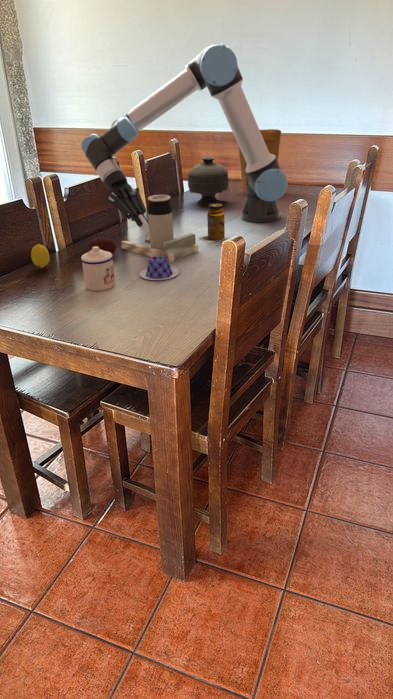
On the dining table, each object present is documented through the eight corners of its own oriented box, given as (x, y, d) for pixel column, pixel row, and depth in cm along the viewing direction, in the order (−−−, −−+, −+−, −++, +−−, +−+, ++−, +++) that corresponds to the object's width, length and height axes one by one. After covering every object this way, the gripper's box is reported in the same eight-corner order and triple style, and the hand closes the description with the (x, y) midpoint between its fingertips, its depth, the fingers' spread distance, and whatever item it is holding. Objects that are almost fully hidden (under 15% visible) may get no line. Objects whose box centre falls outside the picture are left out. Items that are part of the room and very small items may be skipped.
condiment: (229, 238, 190) (229, 205, 184) (210, 243, 186) (209, 209, 180) (217, 234, 195) (217, 201, 189) (198, 238, 191) (197, 205, 185)
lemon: (35, 272, 166) (31, 248, 163) (32, 267, 171) (27, 243, 167) (53, 269, 169) (49, 244, 165) (49, 264, 173) (44, 240, 169)
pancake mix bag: (277, 195, 243) (280, 130, 230) (237, 194, 248) (237, 130, 235) (279, 192, 249) (282, 128, 235) (240, 191, 254) (240, 128, 240)
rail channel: (121, 248, 184) (120, 231, 181) (149, 239, 192) (147, 222, 189) (171, 262, 170) (169, 244, 167) (198, 251, 178) (197, 234, 175)
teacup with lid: (110, 292, 150) (105, 252, 145) (80, 291, 152) (74, 252, 146) (122, 276, 161) (118, 239, 155) (94, 275, 162) (89, 238, 156)
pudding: (136, 271, 165) (135, 254, 163) (173, 266, 168) (172, 250, 165) (143, 284, 155) (142, 267, 153) (183, 279, 158) (182, 262, 155)
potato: (94, 251, 183) (92, 233, 180) (121, 253, 180) (119, 235, 177) (84, 258, 177) (81, 240, 174) (111, 260, 174) (109, 242, 171)
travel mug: (178, 249, 181) (176, 195, 173) (164, 255, 176) (161, 201, 167) (160, 245, 185) (156, 193, 177) (146, 252, 180) (141, 198, 171)
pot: (237, 198, 238) (234, 152, 227) (217, 211, 225) (213, 163, 215) (203, 196, 246) (199, 151, 236) (182, 208, 234) (177, 162, 224)
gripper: (122, 180, 189) (157, 234, 187) (93, 186, 181) (129, 243, 179) (130, 166, 183) (167, 222, 182) (101, 172, 175) (139, 230, 173)
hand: (148, 232), depth 180 cm, fingers closed
